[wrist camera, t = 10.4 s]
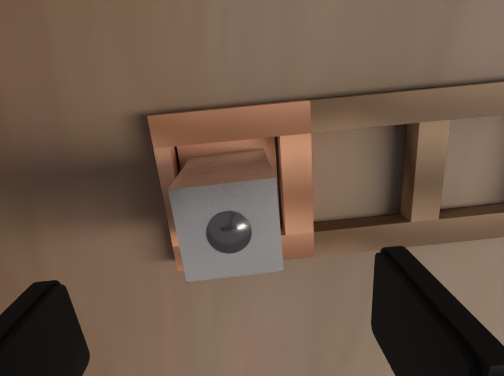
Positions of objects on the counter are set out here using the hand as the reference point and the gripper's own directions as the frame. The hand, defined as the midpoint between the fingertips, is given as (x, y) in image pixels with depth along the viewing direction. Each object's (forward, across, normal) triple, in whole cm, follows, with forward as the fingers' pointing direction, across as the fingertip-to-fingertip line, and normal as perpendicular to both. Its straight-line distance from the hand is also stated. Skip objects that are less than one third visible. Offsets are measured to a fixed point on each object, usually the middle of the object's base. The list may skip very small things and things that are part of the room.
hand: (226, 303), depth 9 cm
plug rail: (+13, -9, +1) cm, 16 cm away
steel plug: (+13, 0, +1) cm, 13 cm away
